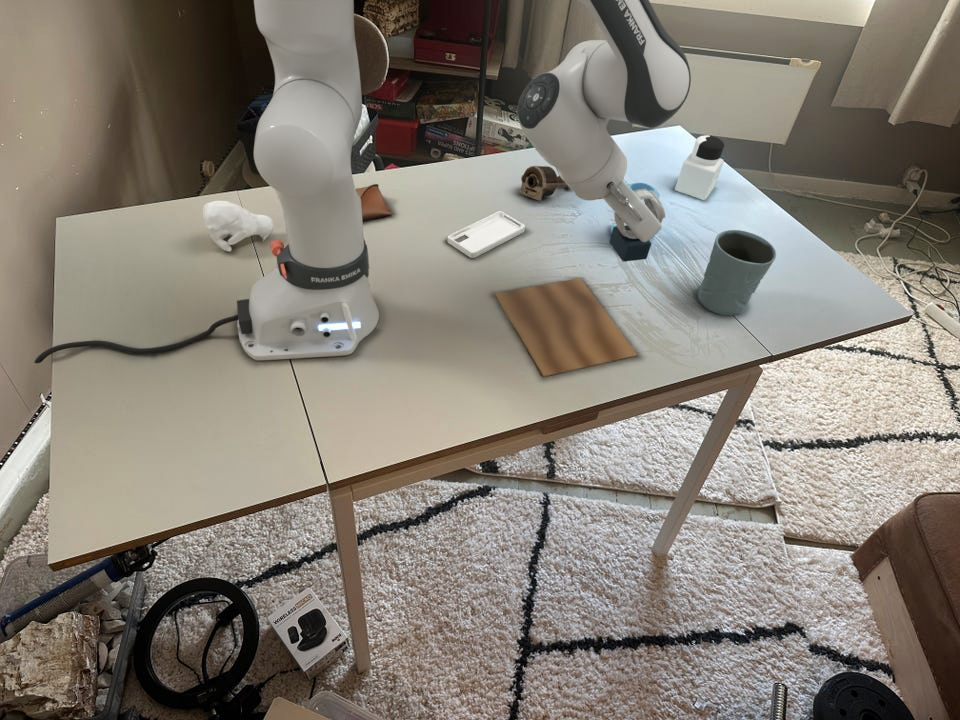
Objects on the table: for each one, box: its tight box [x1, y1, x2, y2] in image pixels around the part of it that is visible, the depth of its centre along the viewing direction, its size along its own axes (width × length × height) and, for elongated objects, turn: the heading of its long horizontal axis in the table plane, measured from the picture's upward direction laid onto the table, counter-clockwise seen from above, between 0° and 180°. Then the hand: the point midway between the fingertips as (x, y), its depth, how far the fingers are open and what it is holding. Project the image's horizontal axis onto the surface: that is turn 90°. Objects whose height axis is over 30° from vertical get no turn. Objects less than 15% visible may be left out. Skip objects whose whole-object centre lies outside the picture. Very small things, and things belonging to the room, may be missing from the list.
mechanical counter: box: [520, 165, 571, 201], centre depth 137 cm, size 7×13×10 cm
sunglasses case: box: [355, 183, 394, 223], centre depth 127 cm, size 18×7×7 cm, turn 121°
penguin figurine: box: [202, 200, 275, 253], centre depth 117 cm, size 6×8×12 cm
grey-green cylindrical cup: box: [697, 229, 777, 316], centre depth 113 cm, size 10×10×12 cm
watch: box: [609, 189, 666, 263], centre depth 104 cm, size 6×8×11 cm
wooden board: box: [494, 277, 638, 378], centre depth 109 cm, size 17×21×1 cm
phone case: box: [447, 210, 526, 259], centre depth 126 cm, size 7×1×15 cm
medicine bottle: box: [674, 134, 725, 201], centre depth 141 cm, size 7×7×12 cm
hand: (635, 218), depth 103 cm, fingers closed on watch, 4 cm apart
